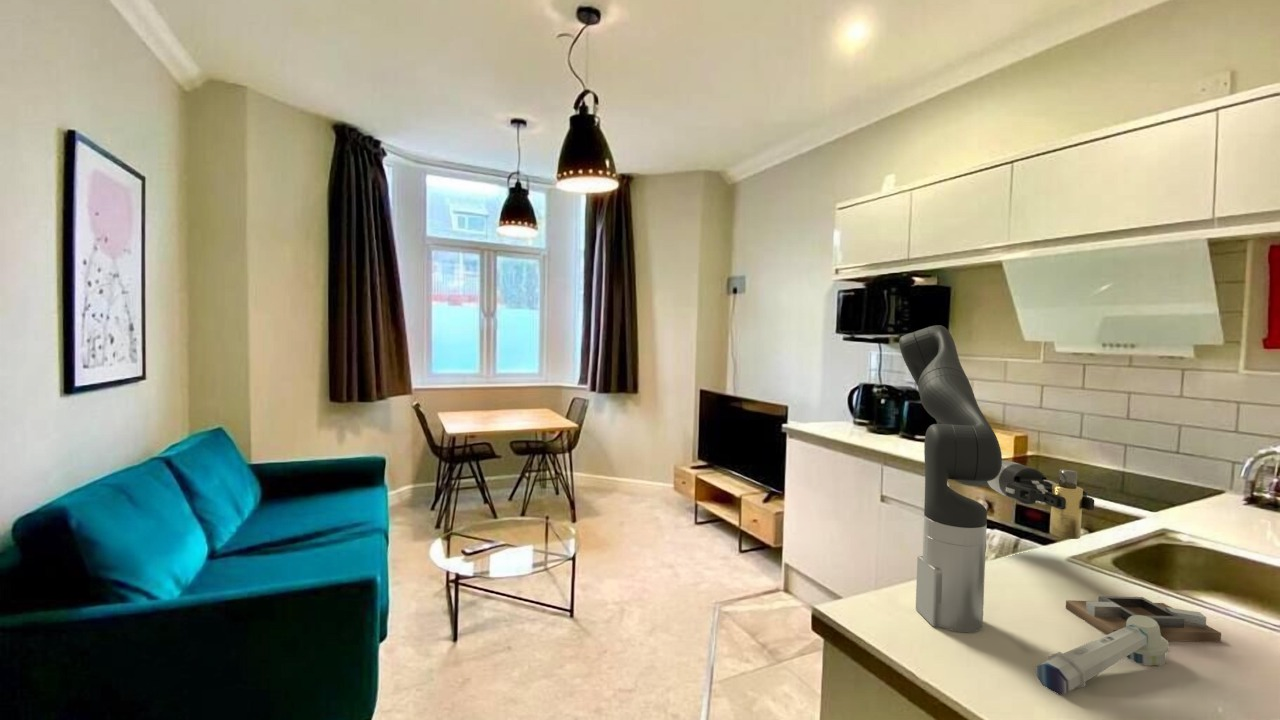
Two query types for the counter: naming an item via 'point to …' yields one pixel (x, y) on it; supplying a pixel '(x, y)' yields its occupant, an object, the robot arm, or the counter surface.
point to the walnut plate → (1171, 634)
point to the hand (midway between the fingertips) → (1077, 504)
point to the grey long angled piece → (1104, 655)
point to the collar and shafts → (1164, 617)
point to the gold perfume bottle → (1067, 506)
